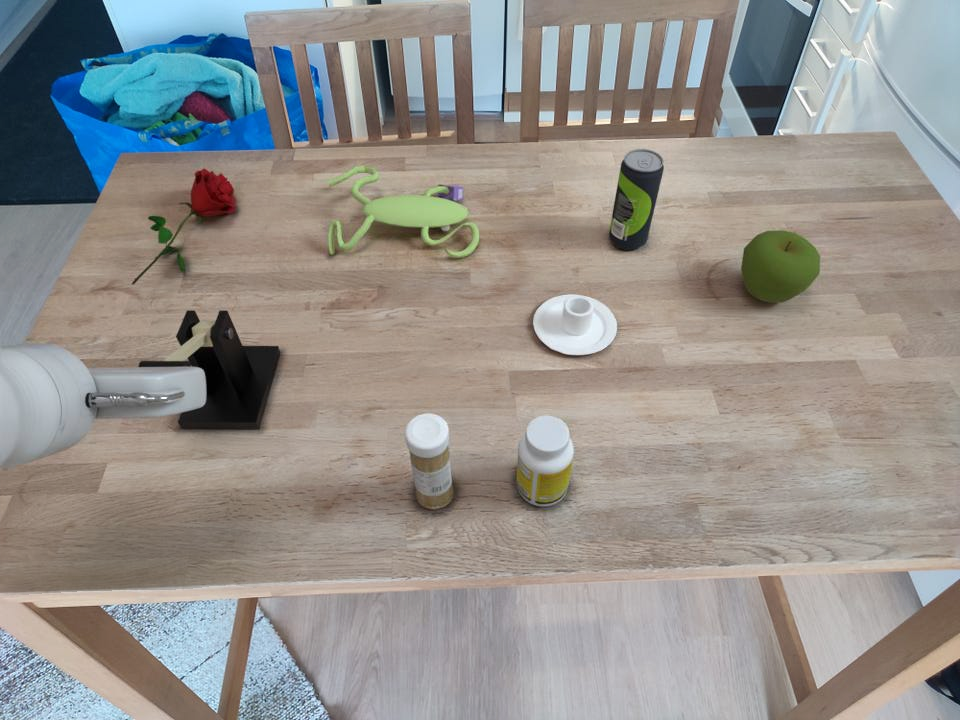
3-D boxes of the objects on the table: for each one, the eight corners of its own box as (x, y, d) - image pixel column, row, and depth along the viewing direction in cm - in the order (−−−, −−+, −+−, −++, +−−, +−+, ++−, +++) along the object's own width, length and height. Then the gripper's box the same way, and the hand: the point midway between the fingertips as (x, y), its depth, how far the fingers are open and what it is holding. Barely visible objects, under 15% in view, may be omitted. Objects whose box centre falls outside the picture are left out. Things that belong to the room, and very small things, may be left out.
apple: (735, 262, 104) (754, 210, 96) (805, 278, 101) (830, 226, 94) (726, 308, 97) (746, 256, 90) (801, 326, 95) (828, 274, 87)
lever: (187, 380, 70) (183, 359, 69) (140, 380, 70) (136, 359, 69) (232, 339, 82) (230, 320, 81) (193, 338, 82) (189, 320, 81)
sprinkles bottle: (450, 474, 80) (444, 408, 69) (457, 507, 77) (452, 443, 66) (412, 481, 79) (401, 415, 69) (418, 515, 76) (407, 452, 66)
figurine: (337, 187, 118) (332, 160, 114) (486, 193, 116) (485, 166, 112) (312, 255, 106) (304, 227, 102) (476, 263, 104) (476, 235, 100)
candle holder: (555, 368, 90) (557, 347, 87) (519, 310, 97) (520, 289, 94) (631, 343, 93) (637, 322, 90) (591, 289, 100) (595, 268, 97)
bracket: (259, 429, 84) (229, 365, 74) (181, 428, 84) (141, 364, 75) (280, 352, 93) (256, 286, 83) (210, 352, 93) (177, 285, 83)
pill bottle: (575, 473, 79) (585, 420, 71) (557, 516, 76) (566, 465, 67) (527, 455, 81) (531, 402, 73) (507, 496, 78) (510, 445, 69)
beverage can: (648, 252, 106) (668, 171, 94) (610, 252, 106) (624, 171, 94) (644, 228, 110) (662, 147, 98) (606, 227, 110) (620, 147, 98)
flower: (134, 247, 90) (224, 145, 111) (91, 268, 94) (185, 165, 115) (182, 296, 95) (259, 189, 116) (139, 314, 99) (221, 207, 120)
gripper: (162, 358, 50) (232, 347, 64) (-106, 362, 50) (22, 350, 64) (166, 440, 50) (234, 412, 64) (-99, 443, 51) (26, 414, 64)
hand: (127, 381), depth 64 cm, fingers open, 8 cm apart
